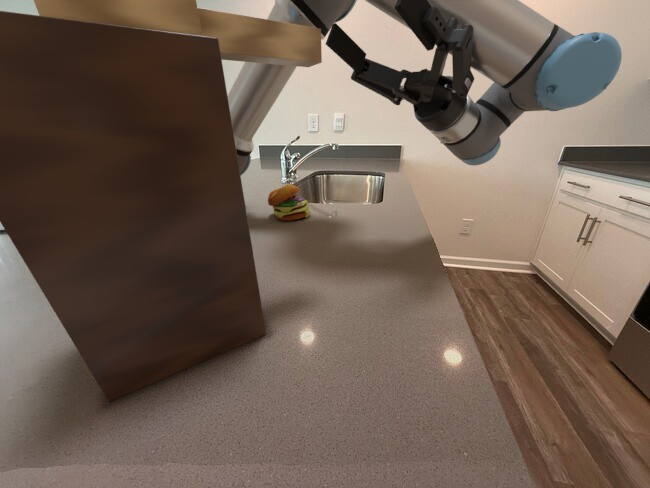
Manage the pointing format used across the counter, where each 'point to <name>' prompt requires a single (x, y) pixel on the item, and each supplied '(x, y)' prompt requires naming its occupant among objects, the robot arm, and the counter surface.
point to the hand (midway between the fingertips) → (360, 16)
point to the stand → (126, 193)
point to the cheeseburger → (288, 203)
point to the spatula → (201, 27)
